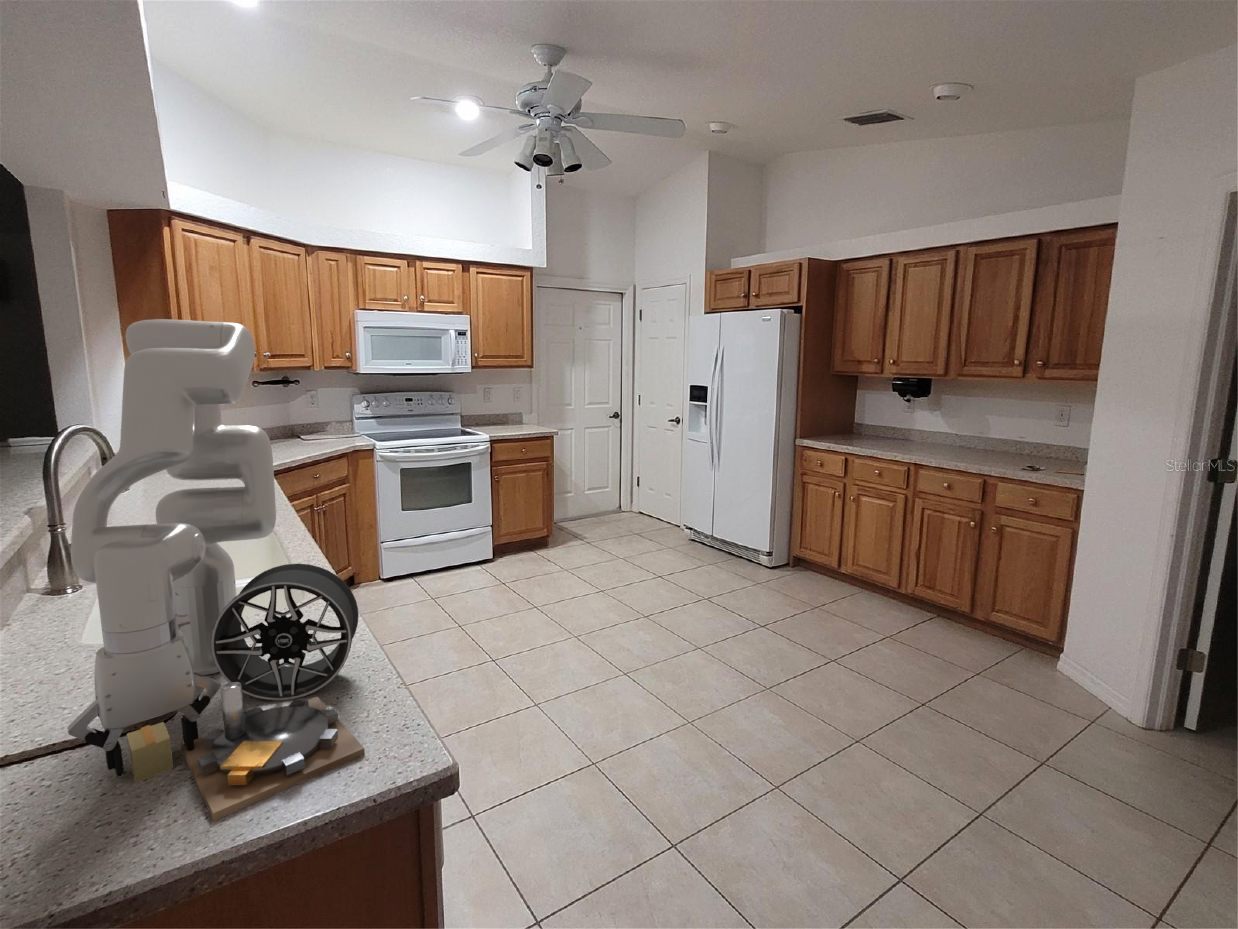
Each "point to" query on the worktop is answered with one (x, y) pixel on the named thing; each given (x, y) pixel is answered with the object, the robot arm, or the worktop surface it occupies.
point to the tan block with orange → (149, 751)
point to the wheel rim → (284, 634)
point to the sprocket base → (236, 797)
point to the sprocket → (265, 738)
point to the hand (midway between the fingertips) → (154, 757)
